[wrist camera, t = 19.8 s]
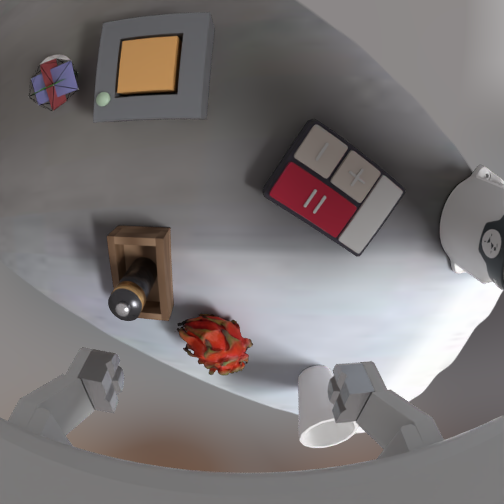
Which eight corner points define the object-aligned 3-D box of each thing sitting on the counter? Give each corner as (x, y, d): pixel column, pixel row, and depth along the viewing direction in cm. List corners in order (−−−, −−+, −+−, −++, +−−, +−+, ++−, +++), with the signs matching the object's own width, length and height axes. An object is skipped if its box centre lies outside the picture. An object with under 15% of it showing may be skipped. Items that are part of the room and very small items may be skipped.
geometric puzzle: (82, 113, 30) (52, 73, 22) (41, 128, 30) (9, 94, 22) (93, 76, 31) (70, 37, 23) (54, 90, 31) (29, 56, 23)
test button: (182, 43, 26) (177, 36, 23) (178, 92, 28) (172, 89, 26) (131, 47, 26) (122, 41, 23) (127, 95, 28) (117, 93, 25)
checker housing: (214, 28, 28) (210, 11, 22) (206, 119, 33) (199, 118, 27) (121, 35, 27) (101, 22, 22) (114, 121, 32) (91, 122, 26)
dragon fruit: (248, 344, 49) (188, 303, 47) (274, 335, 42) (205, 286, 40) (224, 387, 44) (160, 345, 42) (248, 387, 37) (171, 337, 35)
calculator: (314, 117, 30) (409, 191, 33) (308, 118, 34) (395, 185, 37) (262, 196, 34) (360, 260, 37) (261, 189, 38) (351, 248, 41)
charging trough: (170, 227, 38) (163, 238, 35) (173, 304, 43) (168, 320, 39) (118, 225, 38) (106, 236, 34) (126, 300, 43) (118, 315, 39)
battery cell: (157, 257, 39) (136, 296, 30) (159, 284, 41) (141, 327, 32) (129, 255, 39) (102, 293, 30) (132, 282, 40) (108, 323, 31)
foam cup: (339, 353, 49) (360, 411, 37) (340, 385, 52) (357, 438, 41) (285, 366, 49) (296, 426, 37) (292, 396, 53) (302, 452, 41)
